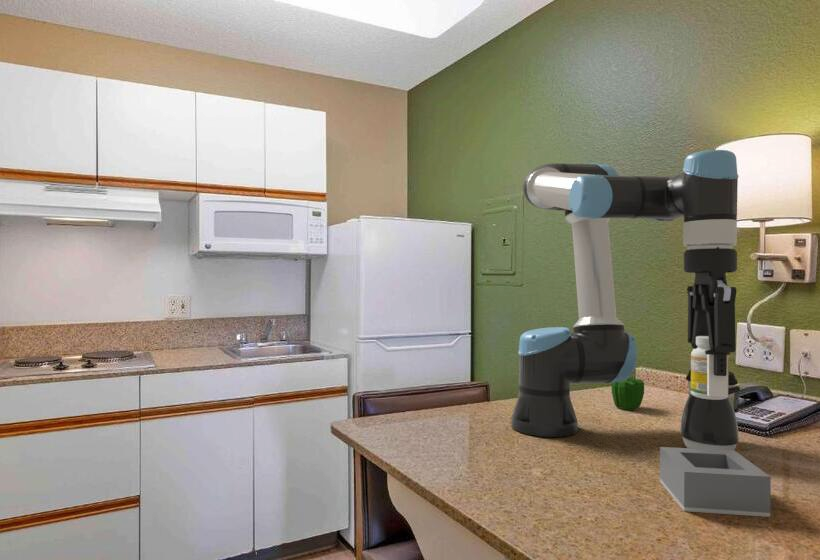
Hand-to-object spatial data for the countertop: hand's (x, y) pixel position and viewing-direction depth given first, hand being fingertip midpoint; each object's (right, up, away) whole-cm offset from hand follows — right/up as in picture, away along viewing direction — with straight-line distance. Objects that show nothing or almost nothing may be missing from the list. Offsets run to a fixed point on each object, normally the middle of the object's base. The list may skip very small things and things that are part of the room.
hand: (709, 391), depth 86 cm
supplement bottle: (0, -1, 0) cm, 1 cm away
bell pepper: (+10, -17, +58) cm, 61 cm away
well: (0, -17, 0) cm, 17 cm away
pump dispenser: (+12, -17, +20) cm, 29 cm away
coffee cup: (+17, -17, +30) cm, 38 cm away
